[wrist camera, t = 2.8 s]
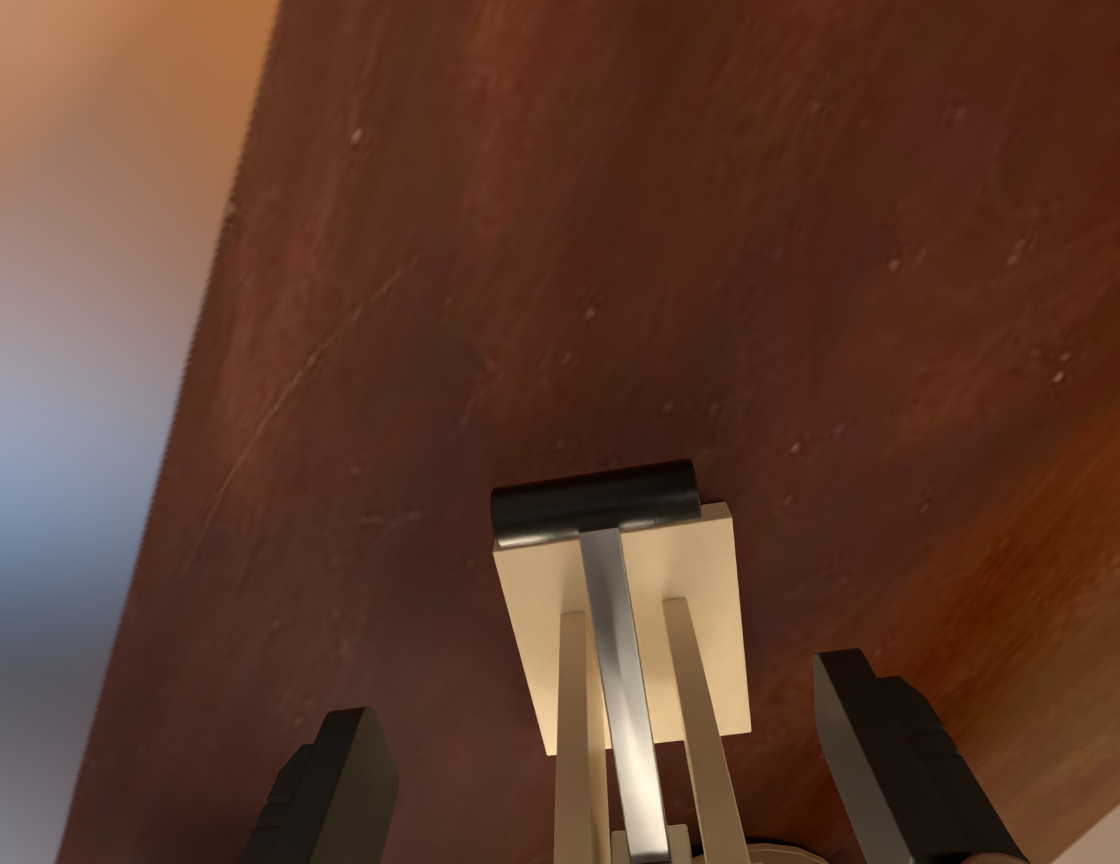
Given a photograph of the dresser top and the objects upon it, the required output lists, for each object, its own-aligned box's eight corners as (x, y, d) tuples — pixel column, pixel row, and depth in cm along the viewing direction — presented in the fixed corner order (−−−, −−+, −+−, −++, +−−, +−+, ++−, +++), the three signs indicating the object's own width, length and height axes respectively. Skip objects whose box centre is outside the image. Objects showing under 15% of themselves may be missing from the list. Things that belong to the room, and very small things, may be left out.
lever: (500, 484, 20) (484, 491, 18) (686, 456, 19) (694, 459, 17) (570, 931, 20) (563, 999, 17) (759, 914, 19) (779, 982, 17)
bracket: (495, 534, 27) (434, 855, 15) (725, 500, 26) (851, 812, 14) (547, 734, 31) (532, 1101, 19) (745, 710, 30) (853, 1079, 19)
